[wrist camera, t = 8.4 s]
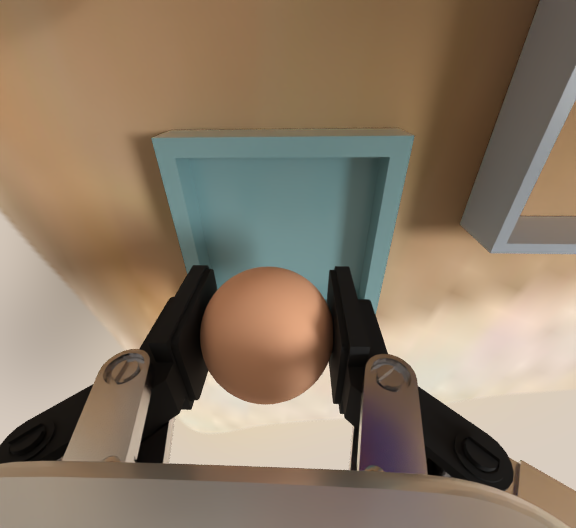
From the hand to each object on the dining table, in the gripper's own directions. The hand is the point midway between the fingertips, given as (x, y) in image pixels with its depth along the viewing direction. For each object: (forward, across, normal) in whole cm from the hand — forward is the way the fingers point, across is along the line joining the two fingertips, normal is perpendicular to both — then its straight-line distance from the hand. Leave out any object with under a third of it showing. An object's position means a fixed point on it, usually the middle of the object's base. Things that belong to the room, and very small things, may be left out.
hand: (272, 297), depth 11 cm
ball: (+1, 0, 0) cm, 1 cm away
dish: (+6, 0, 0) cm, 6 cm away
